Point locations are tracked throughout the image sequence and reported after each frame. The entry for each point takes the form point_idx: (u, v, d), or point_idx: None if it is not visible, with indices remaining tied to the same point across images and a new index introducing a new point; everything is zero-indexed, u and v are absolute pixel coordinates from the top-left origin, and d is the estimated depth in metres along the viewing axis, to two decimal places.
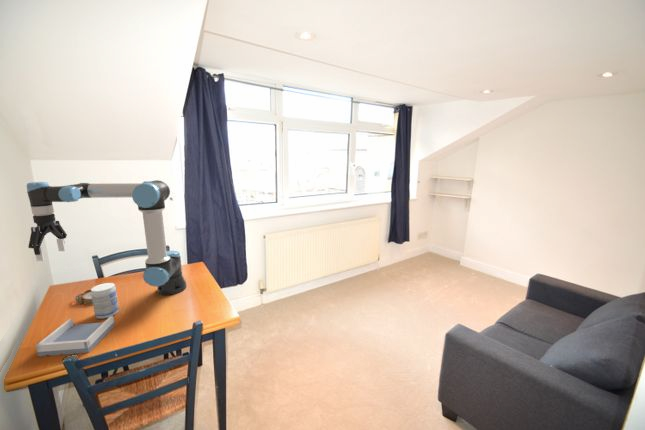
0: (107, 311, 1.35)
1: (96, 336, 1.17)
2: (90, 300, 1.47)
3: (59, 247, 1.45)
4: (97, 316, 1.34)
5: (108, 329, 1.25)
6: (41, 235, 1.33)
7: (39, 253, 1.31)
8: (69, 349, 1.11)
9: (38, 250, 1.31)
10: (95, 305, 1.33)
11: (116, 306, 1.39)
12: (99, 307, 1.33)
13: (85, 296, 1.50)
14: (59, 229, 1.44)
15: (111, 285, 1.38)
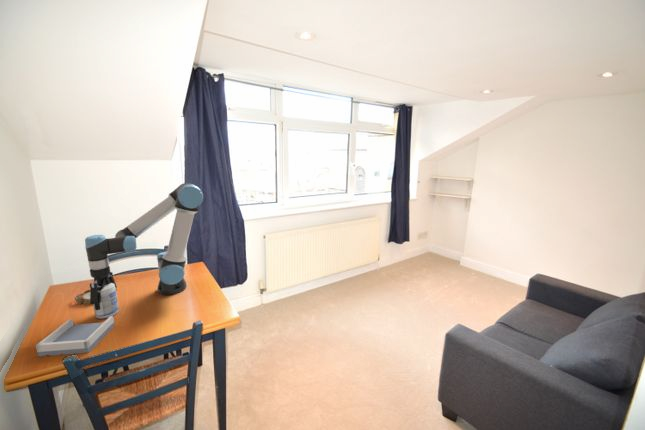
0: (107, 311, 1.35)
1: (96, 336, 1.17)
2: None
3: None
4: (97, 316, 1.34)
5: (108, 329, 1.25)
6: (99, 290, 1.32)
7: (99, 308, 1.32)
8: (69, 349, 1.11)
9: (98, 305, 1.32)
10: None
11: (116, 306, 1.39)
12: None
13: (85, 296, 1.50)
14: (111, 281, 1.42)
15: (111, 285, 1.38)
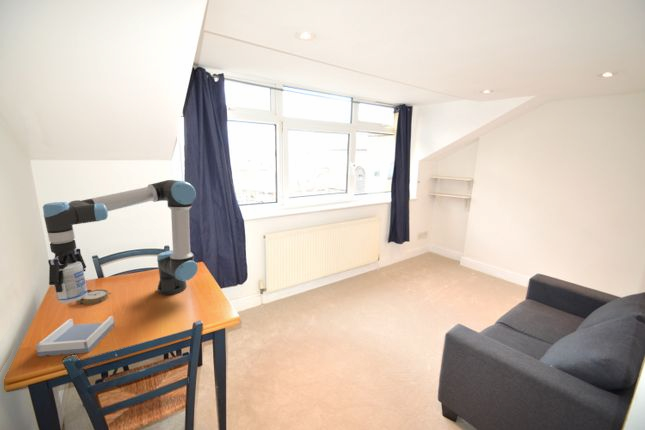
0: (72, 294, 1.13)
1: (96, 336, 1.17)
2: (89, 300, 1.47)
3: None
4: (59, 300, 1.12)
5: (108, 329, 1.25)
6: (61, 268, 1.10)
7: (61, 290, 1.10)
8: (69, 349, 1.11)
9: (60, 287, 1.09)
10: None
11: (83, 289, 1.16)
12: None
13: None
14: (79, 259, 1.20)
15: (77, 263, 1.15)
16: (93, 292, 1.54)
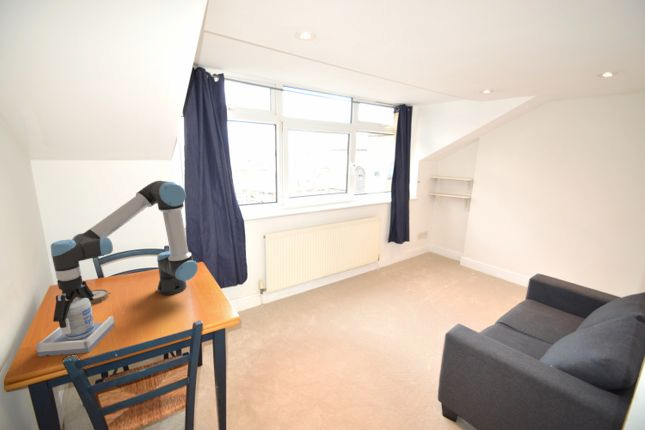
0: (80, 331, 1.17)
1: (96, 336, 1.17)
2: None
3: None
4: (68, 337, 1.16)
5: (108, 329, 1.25)
6: (67, 303, 1.12)
7: (65, 325, 1.11)
8: (69, 349, 1.11)
9: (64, 322, 1.11)
10: None
11: (91, 325, 1.20)
12: (70, 327, 1.15)
13: None
14: (86, 290, 1.24)
15: (85, 301, 1.19)
16: (93, 292, 1.54)
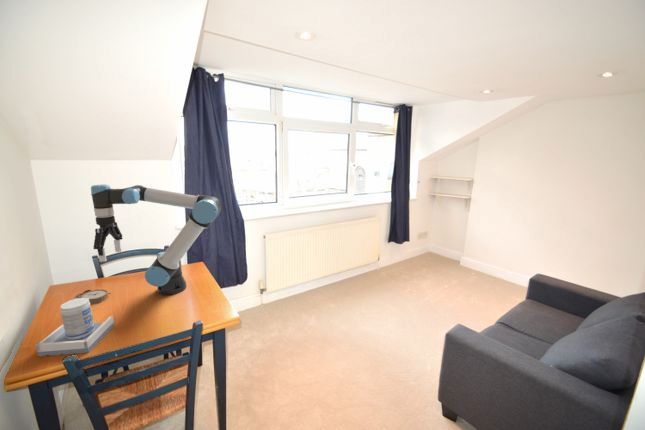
0: (80, 331, 1.17)
1: (96, 336, 1.17)
2: (89, 300, 1.47)
3: (116, 248, 1.49)
4: (68, 337, 1.16)
5: (108, 329, 1.25)
6: (103, 236, 1.36)
7: (102, 254, 1.35)
8: (69, 349, 1.11)
9: (101, 251, 1.35)
10: (65, 324, 1.15)
11: (91, 325, 1.20)
12: (70, 327, 1.15)
13: (84, 296, 1.50)
14: (116, 230, 1.47)
15: (85, 301, 1.19)
16: (93, 292, 1.54)
